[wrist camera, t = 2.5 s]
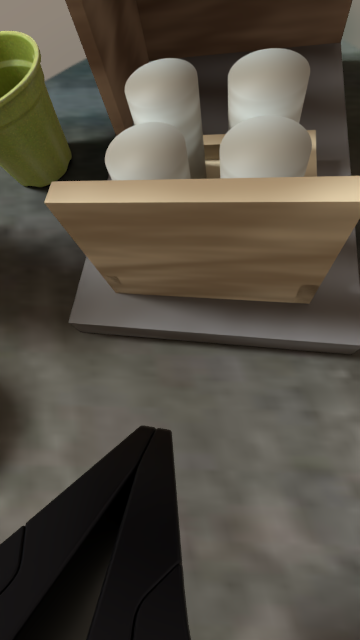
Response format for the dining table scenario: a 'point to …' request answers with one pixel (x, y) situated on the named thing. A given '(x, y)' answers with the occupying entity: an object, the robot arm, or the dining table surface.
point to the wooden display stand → (212, 70)
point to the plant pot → (28, 116)
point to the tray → (213, 190)
